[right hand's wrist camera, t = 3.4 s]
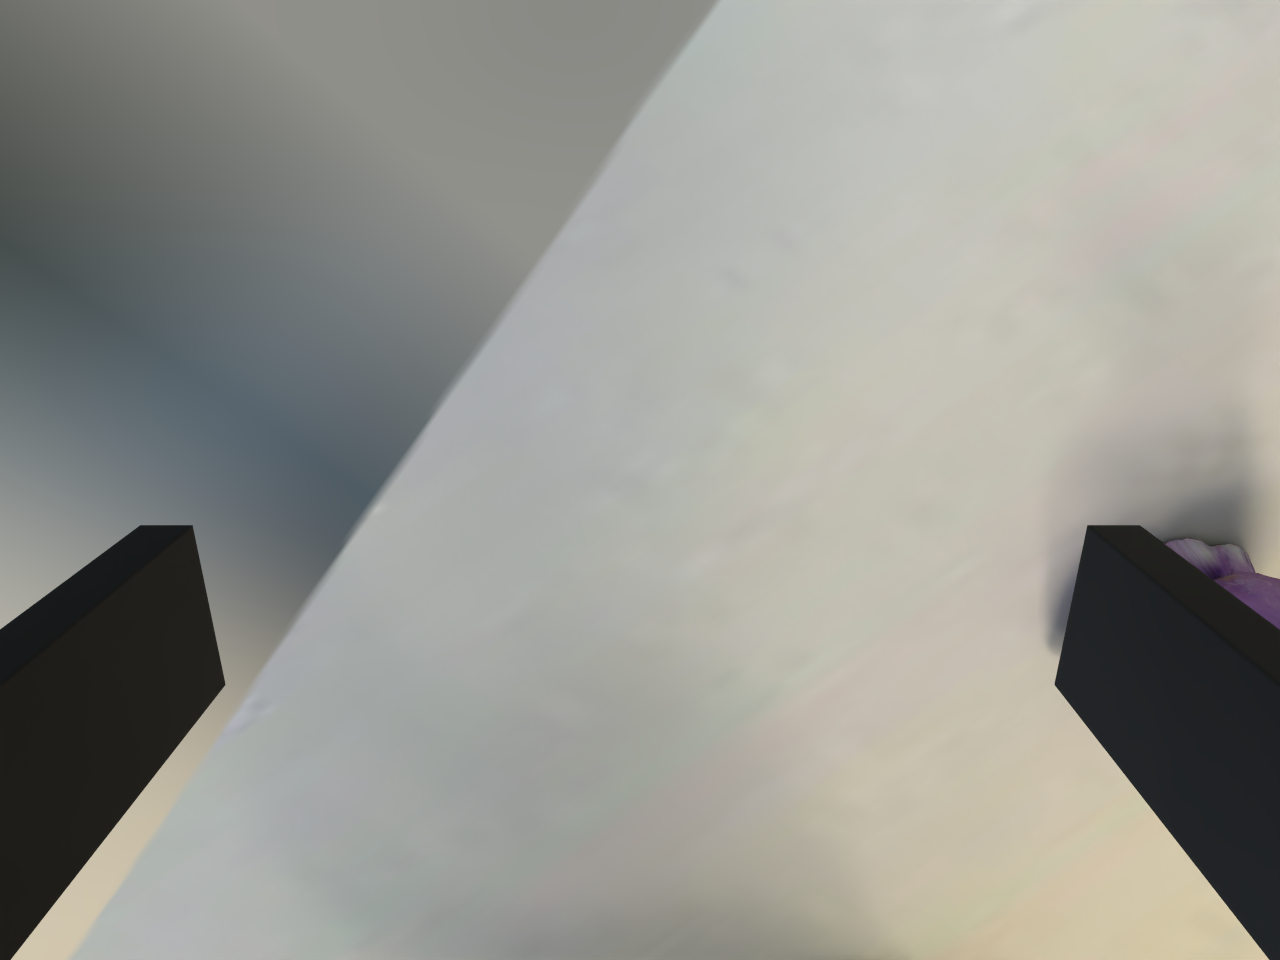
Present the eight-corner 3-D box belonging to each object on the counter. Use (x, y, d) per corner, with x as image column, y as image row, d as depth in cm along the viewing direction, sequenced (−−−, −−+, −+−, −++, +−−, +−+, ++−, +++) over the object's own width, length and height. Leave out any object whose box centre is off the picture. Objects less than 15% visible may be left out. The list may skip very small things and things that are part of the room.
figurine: (1297, 529, 43) (1618, 712, 29) (1204, 695, 46) (1448, 930, 32) (1123, 489, 42) (1366, 657, 28) (1042, 661, 46) (1221, 887, 32)
